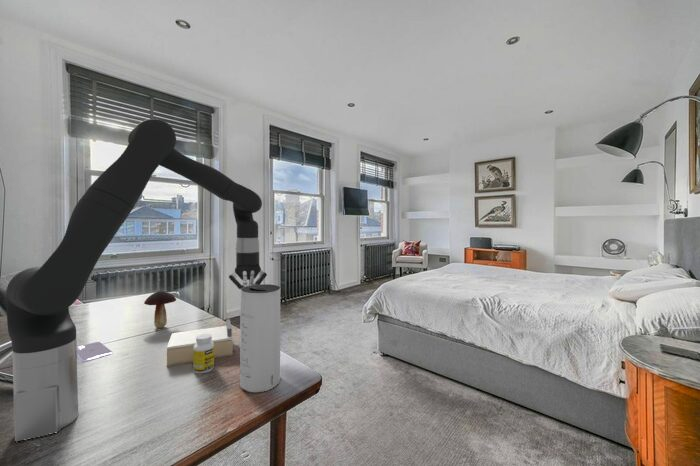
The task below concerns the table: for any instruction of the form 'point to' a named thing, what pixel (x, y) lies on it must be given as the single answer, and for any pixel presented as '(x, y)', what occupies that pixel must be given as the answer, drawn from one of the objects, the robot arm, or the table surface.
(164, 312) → the decorative mushroom
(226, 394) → the table surface
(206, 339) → the supplement bottle
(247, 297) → the speaker
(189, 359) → the light wooden open box
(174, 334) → the mailer lid
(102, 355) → the mobile phone
